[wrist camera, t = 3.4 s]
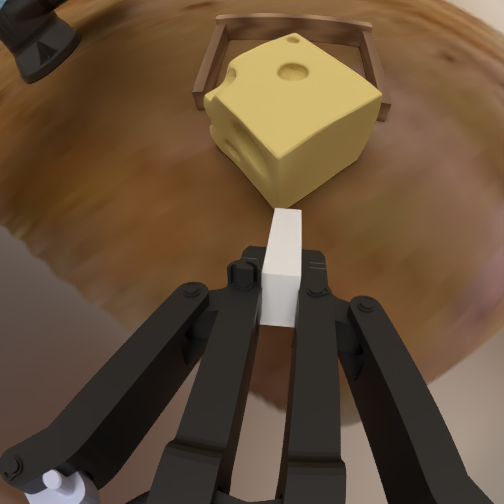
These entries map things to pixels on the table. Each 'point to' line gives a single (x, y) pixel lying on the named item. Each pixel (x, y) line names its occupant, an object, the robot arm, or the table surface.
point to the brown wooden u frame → (286, 25)
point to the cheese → (291, 117)
